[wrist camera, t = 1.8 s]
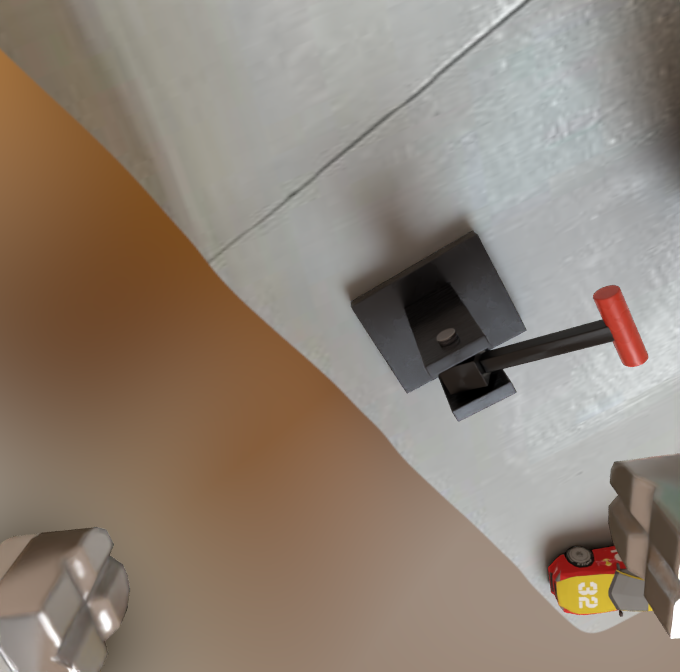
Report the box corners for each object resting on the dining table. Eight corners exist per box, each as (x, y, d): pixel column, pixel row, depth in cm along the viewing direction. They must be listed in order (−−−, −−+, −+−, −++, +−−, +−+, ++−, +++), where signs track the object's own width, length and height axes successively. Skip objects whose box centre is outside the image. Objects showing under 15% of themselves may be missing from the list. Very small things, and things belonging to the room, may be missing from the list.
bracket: (472, 230, 43) (523, 271, 31) (521, 324, 46) (584, 394, 34) (350, 301, 45) (354, 365, 33) (405, 386, 49) (426, 471, 37)
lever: (618, 277, 29) (620, 298, 28) (646, 345, 31) (650, 368, 29) (434, 335, 36) (426, 355, 35) (465, 388, 38) (459, 409, 36)
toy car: (544, 549, 56) (562, 587, 52) (704, 519, 55) (738, 554, 50) (550, 599, 59) (568, 639, 55) (703, 571, 58) (734, 609, 53)
